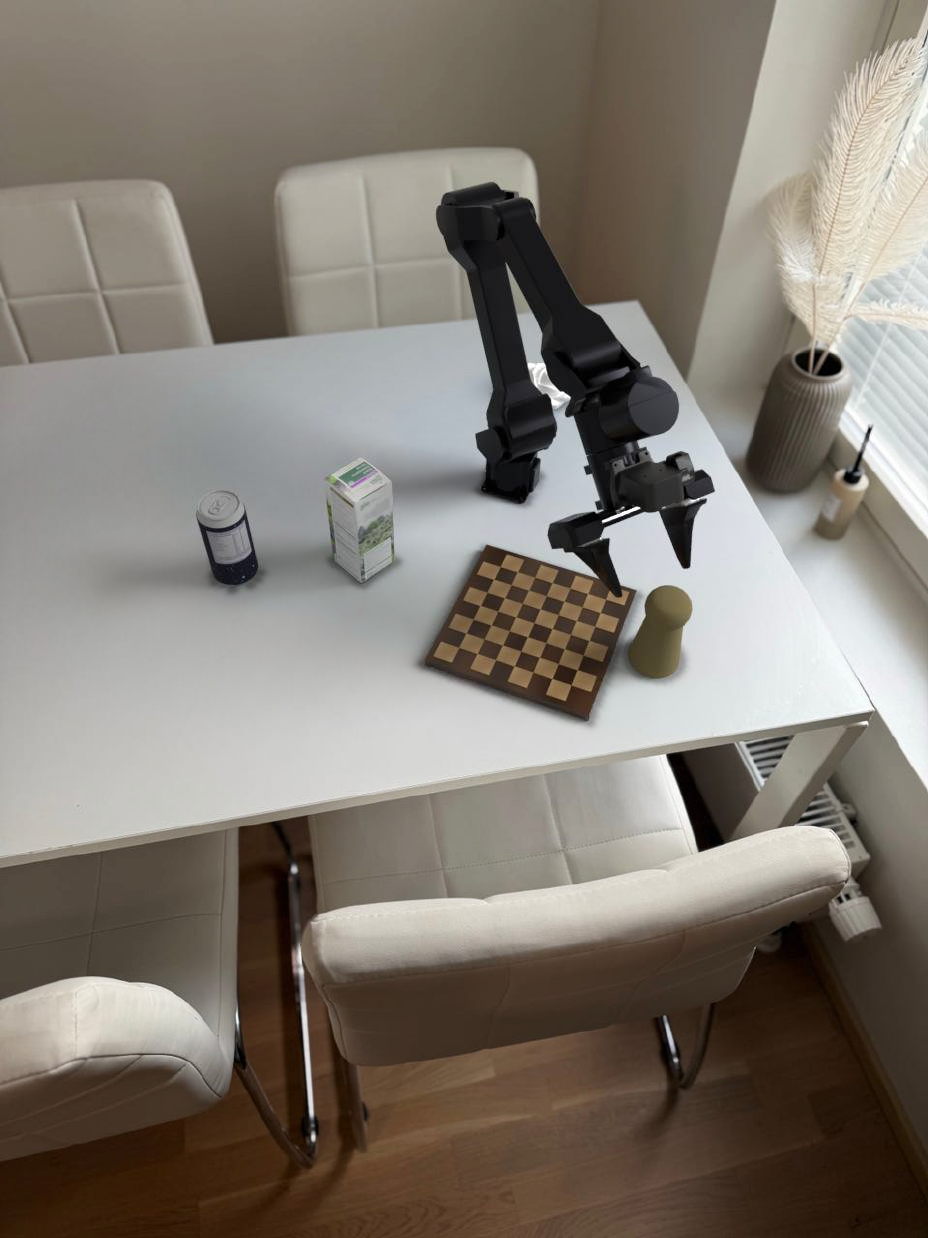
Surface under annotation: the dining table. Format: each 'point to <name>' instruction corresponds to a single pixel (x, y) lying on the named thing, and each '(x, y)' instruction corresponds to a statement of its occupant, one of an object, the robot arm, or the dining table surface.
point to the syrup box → (360, 519)
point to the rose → (546, 384)
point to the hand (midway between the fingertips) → (653, 582)
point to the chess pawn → (661, 632)
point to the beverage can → (227, 537)
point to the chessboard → (533, 631)
